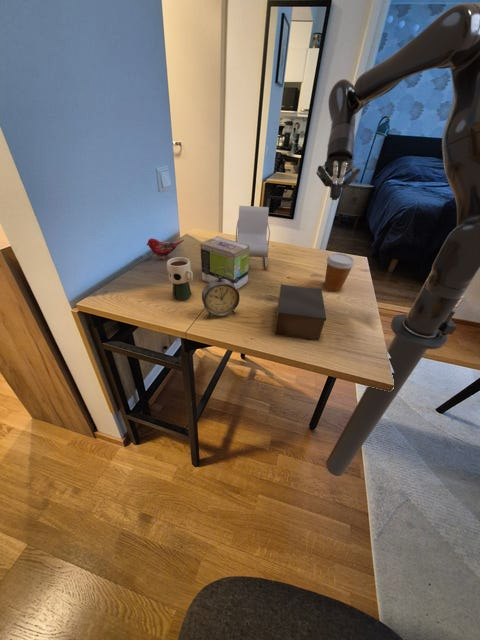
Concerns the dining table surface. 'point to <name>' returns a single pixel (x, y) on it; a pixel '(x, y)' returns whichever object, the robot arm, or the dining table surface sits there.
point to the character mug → (180, 277)
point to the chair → (254, 230)
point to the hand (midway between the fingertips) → (335, 198)
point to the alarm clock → (220, 296)
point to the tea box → (225, 260)
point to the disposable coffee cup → (337, 271)
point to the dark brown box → (298, 326)
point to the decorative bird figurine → (162, 247)
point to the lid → (301, 302)
